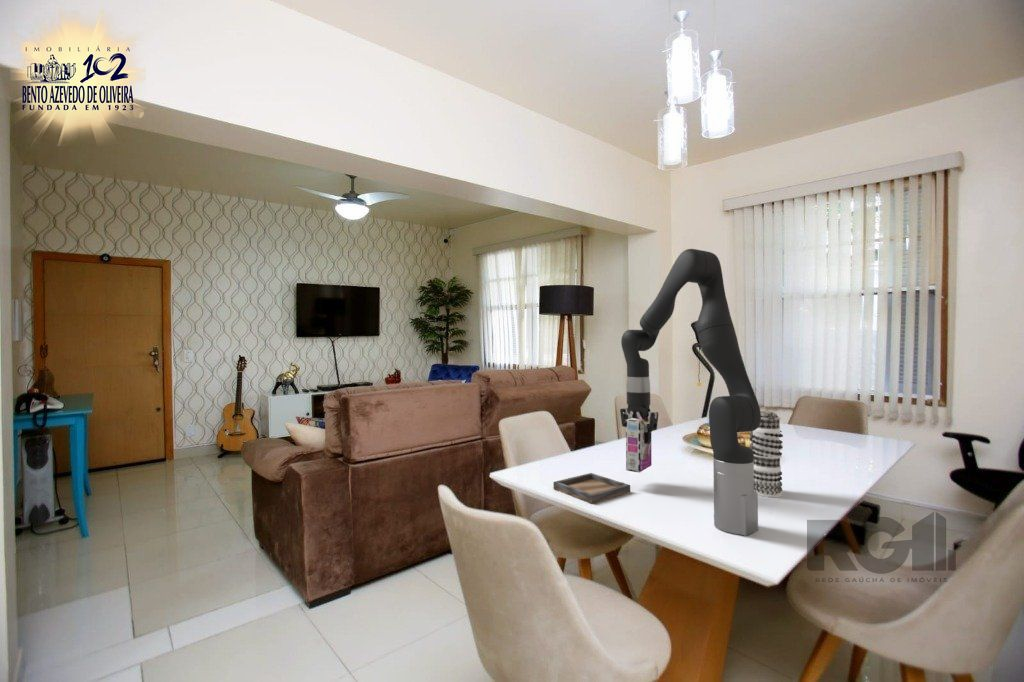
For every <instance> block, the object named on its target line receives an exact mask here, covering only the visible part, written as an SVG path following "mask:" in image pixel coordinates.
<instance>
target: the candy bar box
mask: <svg viewBox="0 0 1024 682" xmlns="http://www.w3.org/2000/svg"><path fill="white" fill-rule="evenodd" d="M649 420H650V418H649ZM643 421H644V422H647V421H646V420H641V419H637V418H630V419H627V420H626V427H625V443H626V444H625V450H626V451H625V452H626V453H625V462H626V463H625V471H629V472H633V473H638V474H639V473H642V472H643V471H644V470H646V469H648V468H650V467H651V466H652V441H651V442H650V443H649V444H645V443H644V432H645V431H644V425H643Z"/></svg>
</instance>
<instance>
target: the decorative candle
mask: <svg viewBox="0 0 1024 682" xmlns="http://www.w3.org/2000/svg"><path fill="white" fill-rule="evenodd" d="M760 412H761V422H760V425H759V427H758V428H757V429H756V430H754V431H749V432H748V434H749V436H750V437H749V441H750V442H751V443H750V444H749V445H750V446H749V448H751V449H752V450H753V453H754V491H756V492H757V493H758V496H759V497H767V498H780V497H782V496H783V493H782V492H783V482H782V480H783V477H782V476H783V472H782V471H781V470H782V469H781V468H782V467H781V458H782V455H783V453H782V452H781V451H780V450H781V449H782V450H783V446H782V445H781V444H783V441H782V440H781V439H780V438H783V437H784V435H783V433H782V432H783V431H782V430H781V427H780V420H781V417H780V416H778V414H777V412H772V411H764V410H763V411H761V410H760Z"/></svg>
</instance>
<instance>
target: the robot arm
mask: <svg viewBox="0 0 1024 682" xmlns="http://www.w3.org/2000/svg"><path fill="white" fill-rule="evenodd" d="M687 283H693V284H697V286H698V288H699V292H700V295H701V296H700V297H701V304H702V305H701V310H700V311H699V316H698V317H697V322H696V332H697V333H696V334H697V338H698V341H699V342H698V343H699V346H700V349H701V351H702V354H703V356H704V357H705V359H706V360H707V361H708V362H709V363H710V364H711V366H712V367H713V368H714V369H715V370H716V371H717V373H719V375H720V376H721V378H722V379H723V381H724V383H725V386H726V388H727V391H728V395H721V396H717V397H714V398H713V399H712V400H711V402H710V404H709V410H708V422H709V423H708V424H709V440H710V447H711V449H712V454H713V456H712V457H713V461H712V462H713V463H712V465H713V466H712V467H713V525H714V526H715V528H717V529H719V530H721V531H723V532H725V533H731V534H736V535H742V536H748V535H750V534H752V533H754V532H756V531H759V501H758V500H759V498H758V497H759V495H758V493H757V492H756V491H754V453H753V450H752V449H751V447H750V446H749V447H748V446H746V445H742V444H741V443H740V441H739V437H738V433H747V432H748V433H750V432H751V431H754V430H756V429H757V428H758V427H759V425H760V422H761V412H760V411H761V408H760V404H759V401H758V399H757V396H756V394H755V391H754V388H753V386H752V383H751V381H750V378H749V376H748V372H747V370H746V366H745V363H744V360H743V357H742V353H741V349H740V346H739V342H738V337H737V333H736V329H735V325H734V322H733V320H732V316H731V312H730V308H729V304H728V300H727V296H726V292H725V284H724V278H723V271H722V265H721V262H720V259H719V257H718V256H717V255H716V254H715V253H713V252H711V251H706V250H701V249H697V248H696V249H695V248H687V249H685V250H683V251H682V252H681V253H680V254H679V255H678V256H677V258H676V259H675V261H674V263H673V265H672V267H671V268H670V270H669V273H668V274H667V276H666V278H665V280H664V282H663V284H662V286H661V288H660V290H659V292H658V293H657V294H656V295H657V296H655V299H654V300H653V302H652V303H651V304H650V306H648V307H647V309H646V310H645V312H644V313H643V314H642V316H641V318H640V320H639V326H640V328H641V329H627V330H626V331H624V333H622V336H621V342H620V343H621V349H622V352H623V355H624V360H625V363H626V382H625V383H626V384H625V385H626V386H625V389H626V404H627V407H626V408H625V407H624V408H620V409H619V413H620V422H621V426H622V427H624V428H626V420H627V419H630V418H637V419H641V420H646V421H647V422H644V421H643V425H644V431H645V432H644V443H645V444H649V443H650V442H651V443H652V432H654V431H657V430H658V420H659V412H658V411H652V410H651V409H650V405H651V380H650V364H649V360H648V359H646V358H643V357H641V354H640V352H647V351H648V350H650V349H651V348H652V347H653V346H654V345H655V343H656V341H657V338H658V336H659V334H660V331H661V330H662V329H663V328H664V326H665V325H666V324H667V323H668V322H669V320H670V319H671V317H672V316H673V313H674V311H675V305H676V304H675V303H676V298H677V295H678V294H679V292H680V290H681V289H682V288H683V287H684V286H685V285H687ZM649 418H650V420H649Z"/></svg>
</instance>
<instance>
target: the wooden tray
mask: <svg viewBox="0 0 1024 682" xmlns="http://www.w3.org/2000/svg"><path fill="white" fill-rule="evenodd" d="M553 490H555V491H557V492H560V493H563V494H565V495H567V496H570V497H573V498H576V499H578V500H581V501H583V502H586V503H587V504H590V505H592V504H597V503H600V502H603V501H606V500H610V499H612V498H616V497H620V496H623V495H627V494H631V485H630V484H628V483H625V482H622V481H618V480H615V479H612V478H608V477H605V476H602V475H599V474H595V473H592V472H590V473H584V474H581V475H577V476H572V477H568V478H564V479H560V480H557V481H553Z"/></svg>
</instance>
